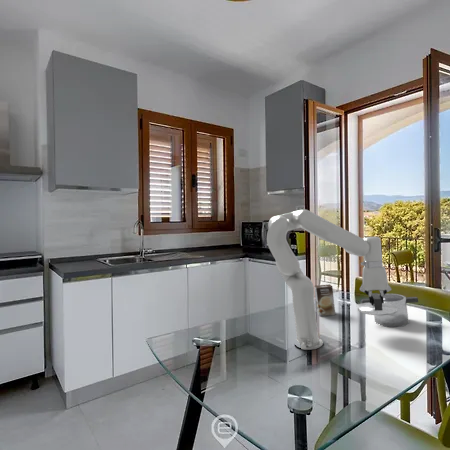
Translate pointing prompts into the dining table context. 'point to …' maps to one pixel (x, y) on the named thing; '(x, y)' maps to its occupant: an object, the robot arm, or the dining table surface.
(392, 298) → the pot
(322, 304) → the coffee box
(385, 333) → the dining table surface
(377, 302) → the lid
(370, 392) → the dining table surface
